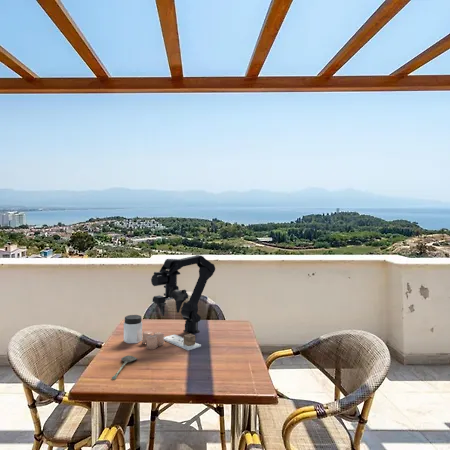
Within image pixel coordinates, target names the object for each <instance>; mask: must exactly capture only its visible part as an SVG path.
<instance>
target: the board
mask: <svg viewBox="0 0 450 450" xmlns="http://www.w3.org/2000/svg"><path fill="white" fill-rule="evenodd" d="M164 342H166V343H170V344H172V345H175V346H177V347H179V348H182V349H184V350H186V351H191V350H194V349H199V348H202V344H200V343H197V342H195V344H193V345H190V346H188V345H185V344H184V337H182V336H180V335H177V334H176V333H175V334H170V335H167V336H164Z"/></svg>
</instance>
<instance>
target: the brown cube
mask: <svg viewBox="0 0 450 450" xmlns="http://www.w3.org/2000/svg"><path fill="white" fill-rule="evenodd" d="M183 338H184V344H185V345H188V346H190V345H193V344H195V343H196V335H195V334H189V333H186V334H184V335H183Z"/></svg>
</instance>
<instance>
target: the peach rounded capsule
mask: <svg viewBox="0 0 450 450" xmlns="http://www.w3.org/2000/svg"><path fill="white" fill-rule="evenodd" d="M153 335H156V336H157V342H158V347H159V346H163V345H164V344H165V340H164V337H165V333H164V332H160V331H158V332H153Z"/></svg>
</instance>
